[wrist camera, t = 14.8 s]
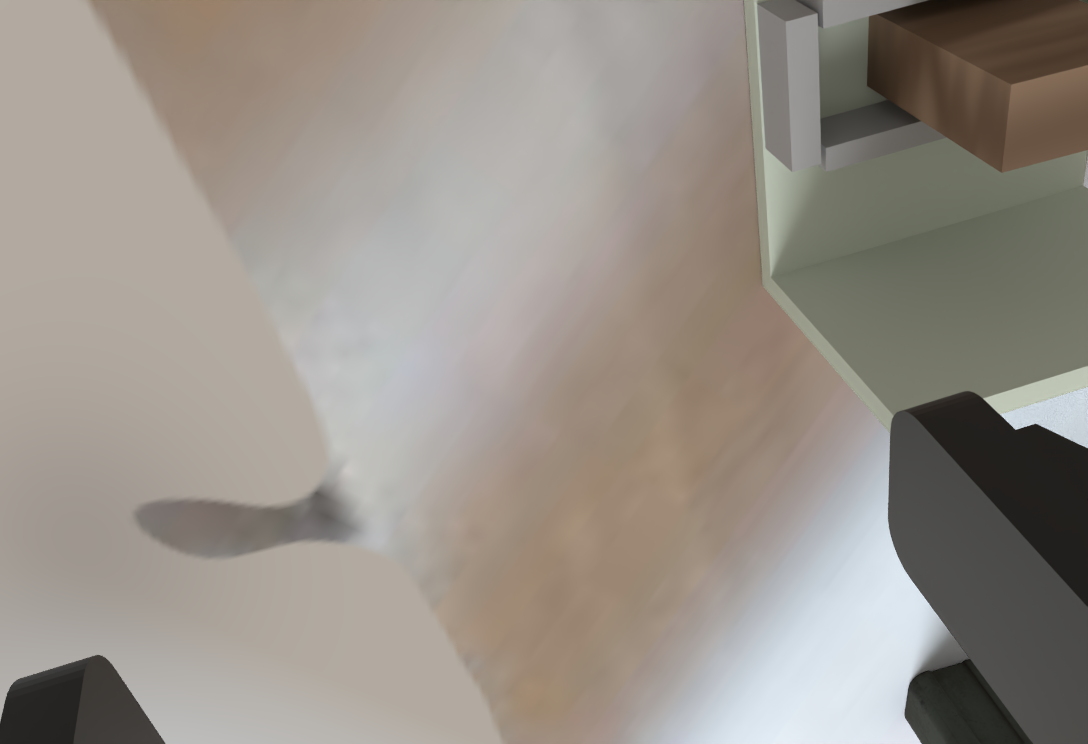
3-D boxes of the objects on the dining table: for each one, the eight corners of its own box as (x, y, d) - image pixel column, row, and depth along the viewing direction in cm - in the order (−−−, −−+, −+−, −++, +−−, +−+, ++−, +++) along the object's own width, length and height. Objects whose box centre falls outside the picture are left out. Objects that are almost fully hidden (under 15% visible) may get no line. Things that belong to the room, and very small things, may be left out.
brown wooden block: (868, 10, 39) (1011, 84, 32) (1012, -25, 40) (1184, 40, 33) (866, 85, 41) (1001, 172, 34) (1004, 51, 42) (1165, 129, 34)
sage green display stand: (741, -33, 38) (931, 76, 28) (1108, -129, 40) (1421, -61, 29) (762, 285, 46) (914, 462, 36) (1066, 196, 48) (1298, 342, 37)
